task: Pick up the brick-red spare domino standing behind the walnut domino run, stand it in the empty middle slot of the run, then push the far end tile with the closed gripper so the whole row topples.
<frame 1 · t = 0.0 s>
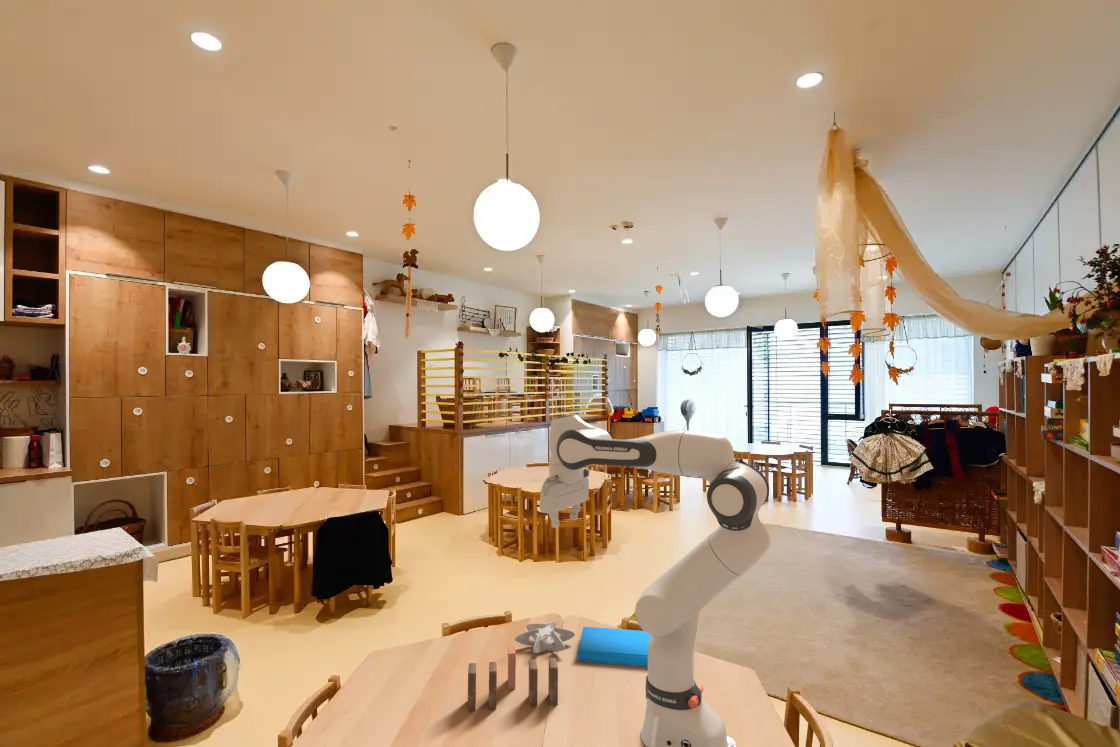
hand: (564, 523, 150), 48 cm above the table, tool pointing down, fingers open, 8 cm apart
tile 5: (553, 699, 148), on the table
tile 1: (471, 705, 145), on the table
tile 4: (532, 701, 148), on the table
book: (618, 653, 175), on the table
tile 2: (492, 703, 146), on the table
sculpture: (545, 647, 179), on the table
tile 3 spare: (511, 684, 156), on the table
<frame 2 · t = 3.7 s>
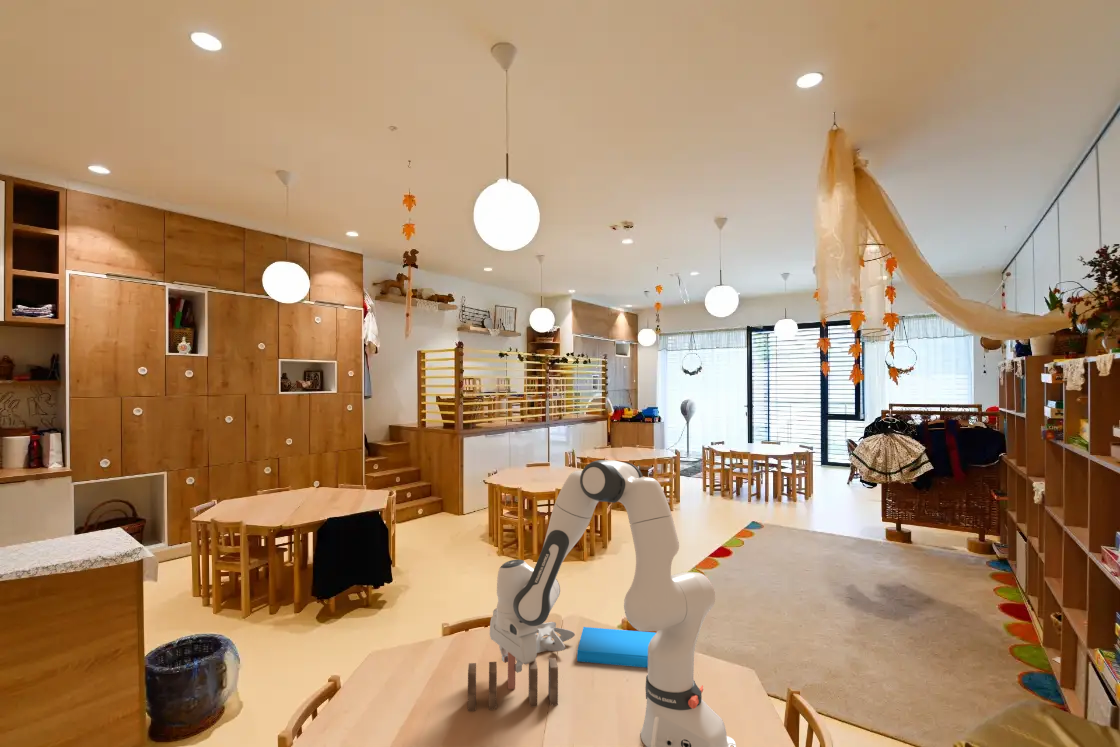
hand: (511, 666, 156), 5 cm above the table, tool pointing down, fingers closed on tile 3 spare, 5 cm apart
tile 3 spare: (511, 684, 156), on the table, touching gripper
when the fingers open (6 cm above the table, at t = 10.1 s): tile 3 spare stays where it is, on the table.
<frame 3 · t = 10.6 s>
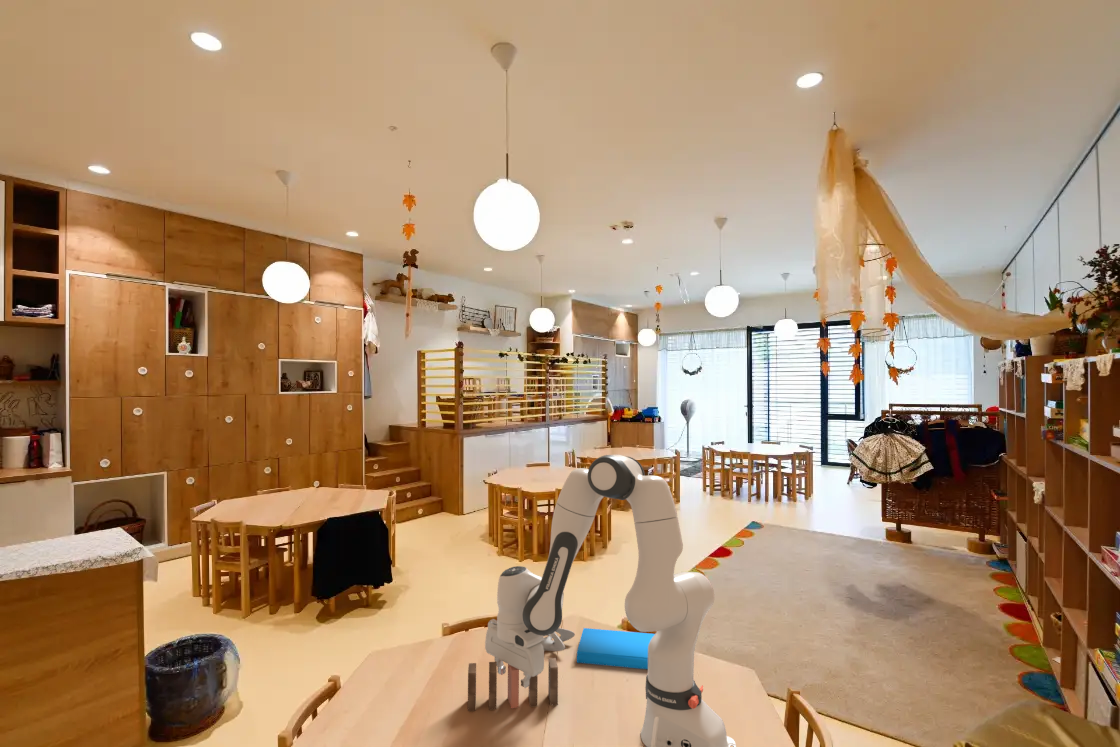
hand: (513, 679, 147), 6 cm above the table, tool pointing down, fingers open, 8 cm apart
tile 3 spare: (513, 702, 147), on the table
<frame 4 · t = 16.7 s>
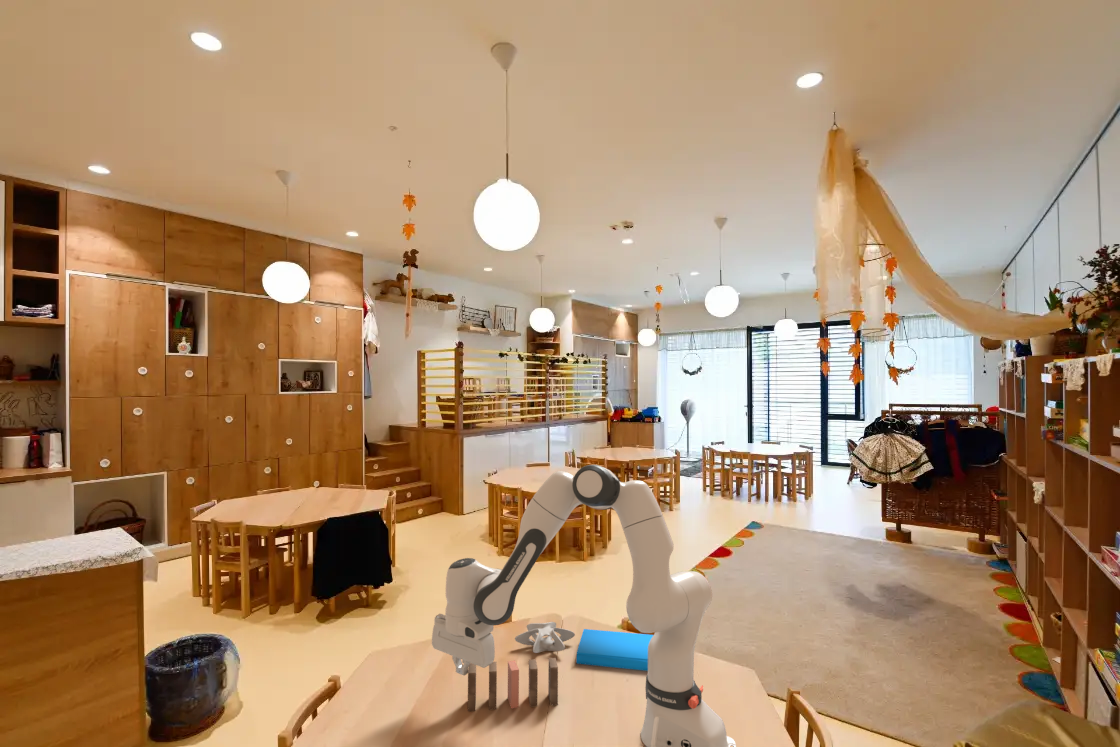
hand: (461, 673, 145), 9 cm above the table, tool pointing down, fingers closed
tile 1: (471, 705, 145), on the table, touching gripper
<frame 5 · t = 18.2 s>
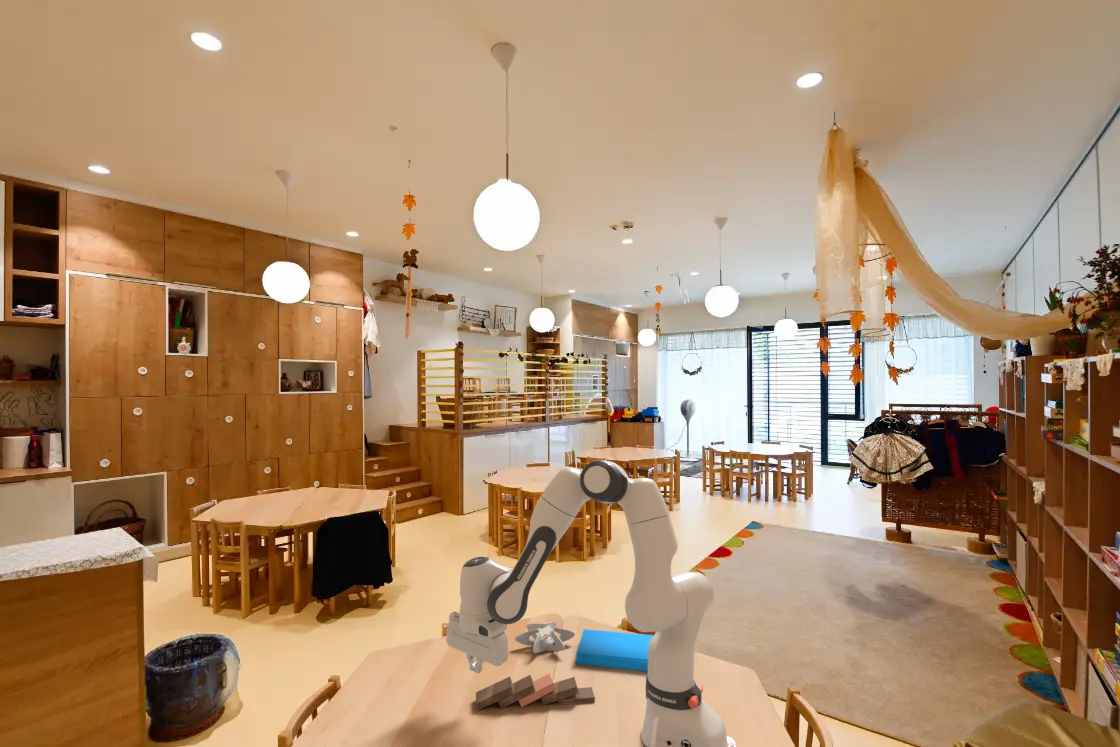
hand: (475, 671, 146), 9 cm above the table, tool pointing down, fingers closed
tile 5: (557, 698, 149), on the table, tilted 90°, touching tile 4
tile 1: (477, 701, 146), point 1 cm above the table, tilted 69°, touching tile 2
tile 4: (541, 695, 148), point 1 cm above the table, tilted 77°, touching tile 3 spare, tile 5
tile 2: (498, 700, 146), point 1 cm above the table, tilted 68°, touching tile 1, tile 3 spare
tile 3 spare: (518, 698, 147), point 1 cm above the table, tilted 69°, touching tile 2, tile 4
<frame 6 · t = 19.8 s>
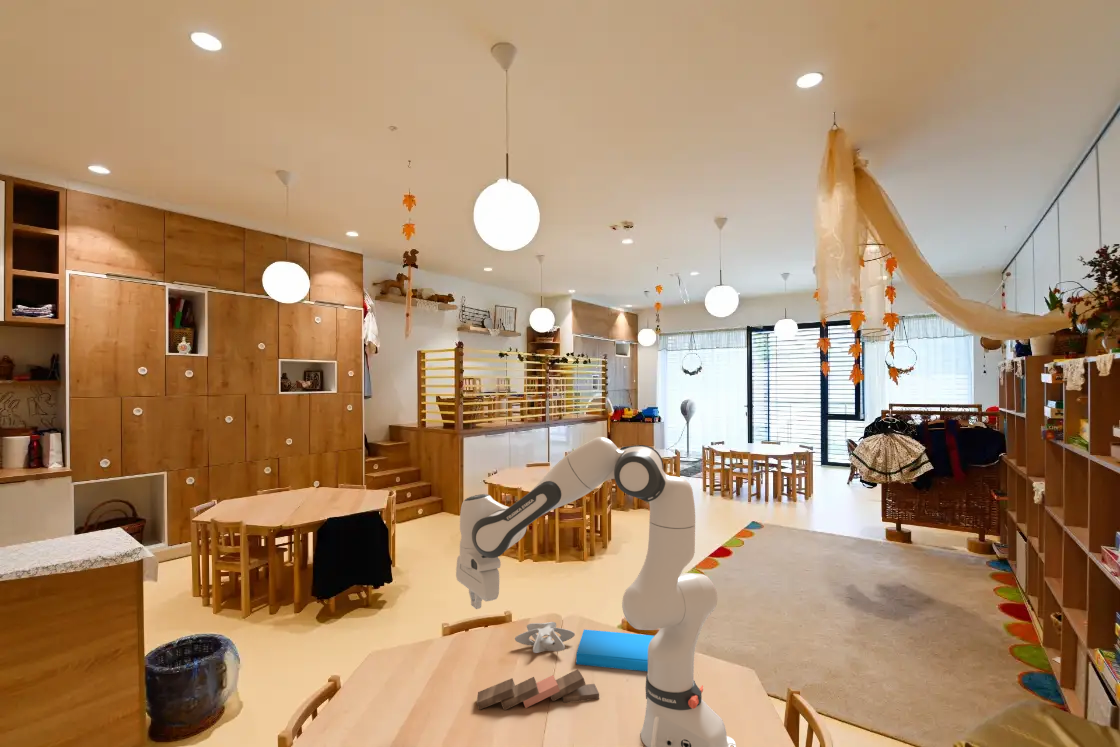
hand: (476, 607, 146), 26 cm above the table, tool pointing down, fingers closed
tile 5: (561, 696, 149), on the table, tilted 90°, touching tile 4
tile 4: (549, 693, 149), point 1 cm above the table, tilted 72°, touching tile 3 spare, tile 5
tile 2: (501, 701, 146), point 1 cm above the table, tilted 70°, touching tile 1
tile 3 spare: (522, 699, 147), point 1 cm above the table, tilted 71°, touching tile 4
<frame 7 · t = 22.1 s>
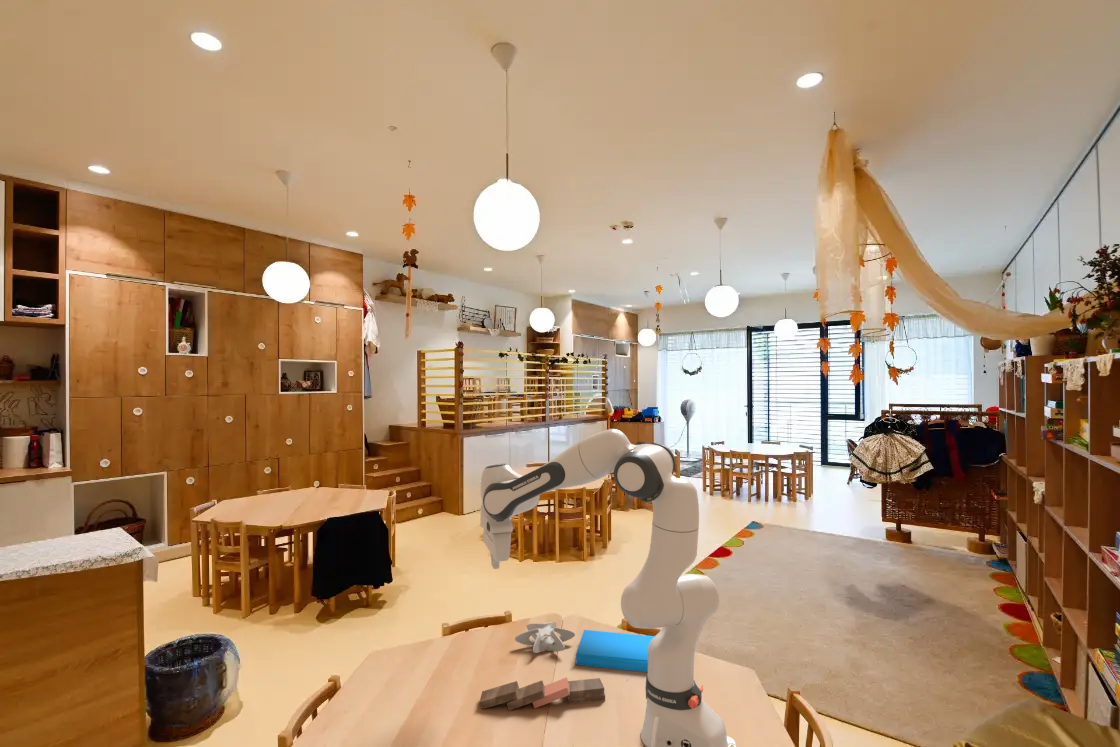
hand: (495, 567, 157), 33 cm above the table, tool pointing down, fingers closed
tile 5: (567, 696, 149), on the table, tilted 90°
tile 4: (566, 690, 149), point 2 cm above the table, tilted 90°, touching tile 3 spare
tile 2: (508, 701, 146), point 1 cm above the table, tilted 71°, touching tile 1
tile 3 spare: (533, 699, 147), point 1 cm above the table, tilted 69°, touching tile 4
at the end: tile 5 tilted 90°; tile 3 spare tilted 69° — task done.
